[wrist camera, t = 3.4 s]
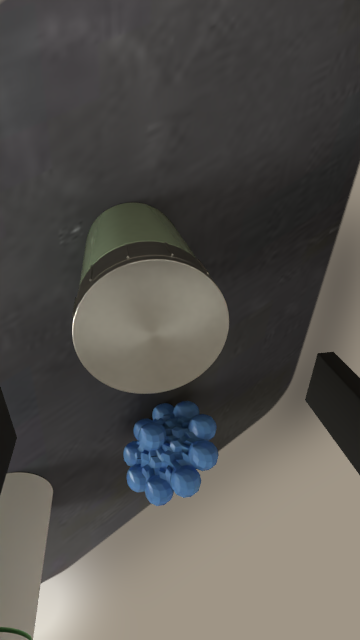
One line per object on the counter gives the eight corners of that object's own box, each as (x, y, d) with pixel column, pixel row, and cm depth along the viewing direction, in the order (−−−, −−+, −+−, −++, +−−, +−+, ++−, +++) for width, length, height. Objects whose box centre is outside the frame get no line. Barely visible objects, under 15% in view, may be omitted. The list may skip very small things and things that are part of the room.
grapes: (177, 358, 37) (204, 446, 27) (210, 390, 40) (245, 479, 30) (98, 415, 39) (96, 518, 29) (136, 442, 42) (146, 541, 32)
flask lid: (44, 291, 19) (35, 317, 16) (173, 211, 18) (184, 225, 15) (128, 383, 23) (131, 415, 21) (234, 322, 22) (251, 347, 20)
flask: (65, 236, 28) (38, 311, 17) (149, 182, 28) (181, 223, 16) (121, 308, 33) (130, 406, 21) (195, 263, 32) (246, 340, 20)
